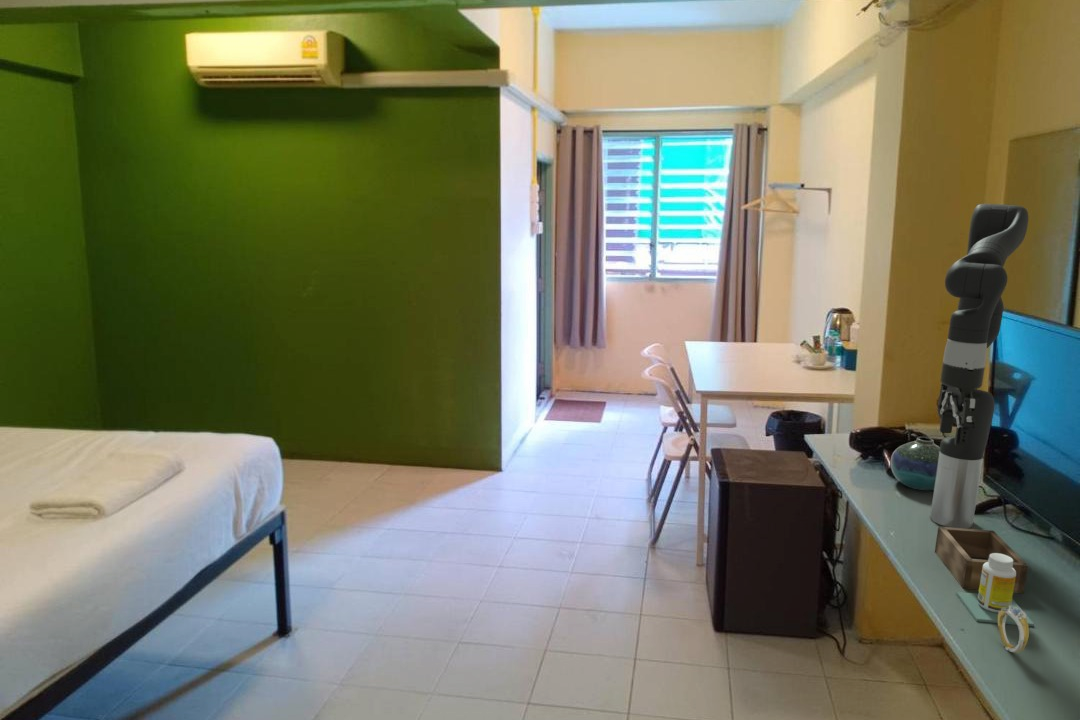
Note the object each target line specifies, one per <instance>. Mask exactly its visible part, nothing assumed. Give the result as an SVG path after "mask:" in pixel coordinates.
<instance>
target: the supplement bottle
mask: <svg viewBox="0 0 1080 720" xmlns="http://www.w3.org/2000/svg"><path fill="white" fill-rule="evenodd" d="M1012 567H1013V559H1012V558H1011V557H1009V556H1007V555H1004V554H1000V553H992V554H990V555H989V559H988V562H986V563H984V564H983V567H982V574H981V580H980V587H979V590H978V593H977V594H978V603H979V605H980V606H981V607H983V608H984V609H986V610H989V611H991V612H996V613H999V611H1001V610H1006V609H1009V605H1011V602H1012V599H1013V595H1014V593H1013V590H1014V584H1015V578H1016V571H1015V569H1014V568H1012Z"/></svg>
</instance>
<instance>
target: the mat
mask: <svg viewBox="0 0 1080 720" xmlns="http://www.w3.org/2000/svg"><path fill="white" fill-rule="evenodd" d="M955 595H956V596H957V598H958V599H959V598H960V599H959V600H960V601H961V603H962V602H963V603H962V604H963V605H964V606H966V607H965V608H966V609H967V611H968V612H969V614H971V616H972V618H973V619H974V620H975V622H979V623H980V622H982V623H990V624H991V623H993V624H998V613H996V612H991V611H989V610H986V609H984V608H983V607H981V606H980V605H979V603H978V593H975V592H961V591H956V594H955ZM1013 607H1018V609H1021V611H1023V609H1022V608H1021V607H1020V606H1019V605H1018V604H1017V603H1016V601H1015V600H1014V599H1013V598H1012V602H1011V608H1013ZM1023 612H1024V611H1023ZM1021 616H1022V615H1021ZM1020 620H1021V619H1019V621H1020ZM1026 620H1027V622H1028V626H1029V627H1034V626H1035V622H1033V621H1032V620H1031V618H1030V617H1029V616H1028V615H1027V614H1026ZM1020 622H1021V621H1020ZM1021 624H1022V623H1021ZM1005 625H1013V626H1014V625H1016V626H1017V624H1016V622H1015V621H1014V620H1013V619H1012V618H1011V617H1010V616H1009V615H1008V616H1007V618H1006V621H1005Z"/></svg>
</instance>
